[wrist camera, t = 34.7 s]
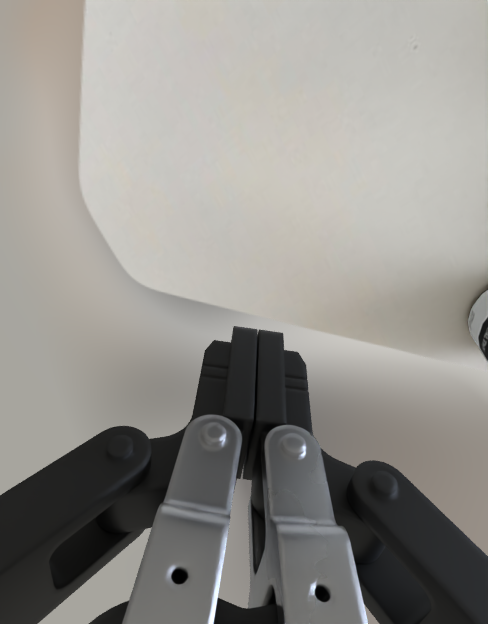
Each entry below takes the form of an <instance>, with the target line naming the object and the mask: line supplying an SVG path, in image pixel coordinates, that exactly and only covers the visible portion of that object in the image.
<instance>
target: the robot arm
mask: <svg viewBox="0 0 488 624" xmlns="http://www.w3.org/2000/svg"><path fill="white" fill-rule="evenodd" d="M243 465H244V467H243ZM242 469H243V479H247V480H252V488H251V497H250V501H249V505H248V524H249V554H250V593H249V602H248V609H246V608H241V607H238V606H236V605H234V604H231V603H229V602H226V601H224V600H222V599H220V598H218V592H219V586H220V580H221V573H222V567H223V561H224V555H225V548H226V542H227V536H228V530H229V523H230V511H231V505H232V499H233V493H234V489H235V484H236V480H237V478H238V479H240V478H241V473H242ZM151 527H152V529H151V532H150V535H149V539H148V542H147V545H146V548H145V552H144V555H143V558H142V561H141V565H140V568H139V571H138V574H137V577H136V581H135V584H134V587H133V591H132V594H131V597H130V600H129V601H127V602H124V603H122V604H119V605H117V606H115V607H113V608H111V609H109V610H108V611H106V612H104V613H103V614H101V615H99V616H98V617H97V618H96V619H94V620H93V621H92V622H90V623H89V624H368V621H367V617H366V612H365V607H364V604H365V605H366V607H367V608H368V609H369V611H370V612H371V613H372V615H373V616H374V617H375V618H376V620H377V621H378V622H379V623H380V624H488V556H487V555H486V554H485V553H484V552H483V551H482V550H481V549H480V548H478V547H477V546H476V545H475V544H474V543H473V542H472V541H471V540H470V539H469V538H468V537H467V536H466V535H465V534H464V533H463V532H462V531H461V530H460V529H459V528H458V527H457V526H456V525H455V524H453V522H451V521H450V520H449V519H448V518H447V517H446V516H445V515H444V514H443V513H442V512H441V511H440V510H439V509H438V508H437V507H436V506H435V505H434V504H433V503H432V502H431V501H430V500H429V499H428V498H427V497H425V496H424V494H422V493H421V492H420V491H419V490H418V489H417V488H416V487H415V486H414V485H413V484H412V483H411V482H410V481H409V480H408V479H407V478H406V477H405V476H404V475H403V474H402V473H401V472H399V471H398V470H397V469H395V468H394V467H392V466H391V465H389V464H386V463H384V462H380V461H366V462H363V463H361V464H360V465H359V466H357V468H355V467H353V466H351V465H348V464H345V463H343V462H341V461H339V460H337V459H335V458H333V457H331V456H330V455H328V454H327V453H326V452H324V451H323V450H322V449H321V448H320V446H319V443H318V441H317V440H316V439H315V437H314V436H313V432H312V423H311V413H310V403H309V392H308V382H307V371H306V364H305V362H304V361H303V359H302V358H301V356H300V355H299V353H298V352H294V351H287V350H284V340H283V333H279V332H272V331H265V330H259V332H258V335H257V329H251V328H244V327H237V326H234V328H233V334H232V340H231V343H230V342H223V341H216V340H214V341H213V342H212V343H211V344H210V346H209V347H208V348H207V349H206V350H205V353H204V359H203V364H202V369H201V374H200V379H199V384H198V389H197V395H196V400H195V405H194V410H193V415H192V418H191V420H190V422H189V423H188V425H187V426H186V427H185V428H184V429H182V430H181V431H179V432H177V433H175V434H173V435H170V436H166V437H160V438H154V439H149V438H148V437H147V436H146V434H145V433H143V432H142V431H141V430H139V429H137V428H134V427H129V426H117V427H112V428H109V429H107V430H105V431H103V432H101V433H99V434H98V435H96V436H95V437H93V438H91V439H90V440H88V441H87V442H85V443H83V444H82V445H80V446H79V447H77V448H75V449H74V450H72V451H71V452H69V453H67V454H66V455H64V456H63V457H61V458H59V459H58V460H56V461H54V462H53V463H51V464H50V465H48V466H46V467H45V468H43V469H42V470H40V471H38V472H37V473H35V474H34V475H32V476H30V477H29V478H27V479H26V480H24V481H22V482H21V483H19V484H18V485H16V486H14V487H13V488H11V489H10V490H8V491H6V492H5V493H3V494H2V495H0V624H37V623H39V622H40V621H41V620H42V619H43V618H44V617H46V616H47V615H48V614H49V613H50V612H51V611H53V610H54V609H55V608H56V607H57V606H58V605H59V604H61V603H62V602H63V601H64V600H65V599H67V598H68V597H69V596H70V595H71V594H72V593H74V592H75V591H76V590H77V589H78V588H79V587H80V586H82V585H83V584H84V583H85V582H86V581H87V580H89V579H90V578H91V577H92V576H93V575H94V574H96V573H97V572H98V571H99V570H100V569H101V568H103V567H104V566H105V565H106V564H107V563H108V562H110V561H111V560H112V559H113V558H114V557H115V556H116V555H117V554H119V553H120V552H121V551H122V550H123V549H125V548H126V547H127V546H128V545H129V544H130V543H132V542H133V541H134V540H135V539H136V538H137V537H139V536H140V535H141V534H142V533H143V531H144V530H145V529H146V528H151Z"/></svg>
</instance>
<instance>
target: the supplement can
mask: <svg viewBox="0 0 488 624" xmlns="http://www.w3.org/2000/svg"><path fill="white" fill-rule="evenodd" d="M468 325H469V331H470V334H471V336H472V338H473V339H474V341H475V343H476V344H477V346H478V347H479V349H480V351H481V352H482V354H483V356H484V357H485V359H486V361H487V362H488V290H487V291H485V292H484V293H483V294H482V295H481V296H480V297H479V299H478V300H477V301H476V303H475V304H474V305H473V307H472V309H471V312H470V315H469V319H468Z"/></svg>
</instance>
